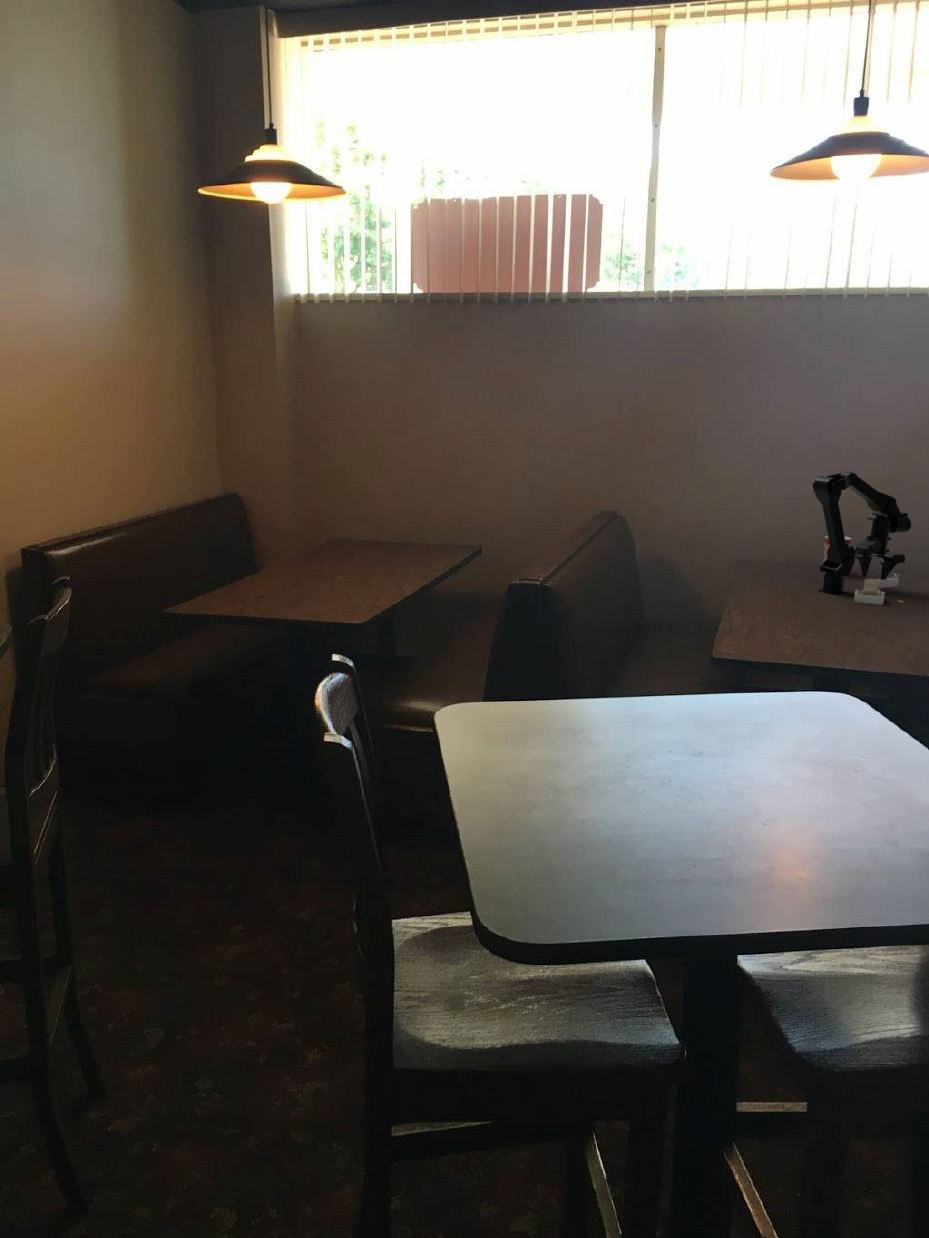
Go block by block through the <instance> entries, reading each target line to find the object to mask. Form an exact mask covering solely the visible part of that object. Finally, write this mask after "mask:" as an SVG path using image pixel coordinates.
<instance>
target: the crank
mask: <svg viewBox="0 0 929 1238" xmlns="http://www.w3.org/2000/svg"><path fill="white" fill-rule="evenodd" d="M900 576H901V575H900V574H898V573H892V577H886V578H885V579H881V578H877V579H876V578H869V579H870V580H878V589H882V588H883V589H884V588H891V587H898V585H899V580H900V579H899V577H900Z"/></svg>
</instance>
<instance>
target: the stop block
mask: <svg viewBox="0 0 929 1238" xmlns="http://www.w3.org/2000/svg"><path fill="white" fill-rule="evenodd" d="M870 579H871V578H868V579H867V578H864V583H863V589H862V590H863V595H869V596H877V588H878V580H870ZM878 589H879V588H878Z"/></svg>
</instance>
